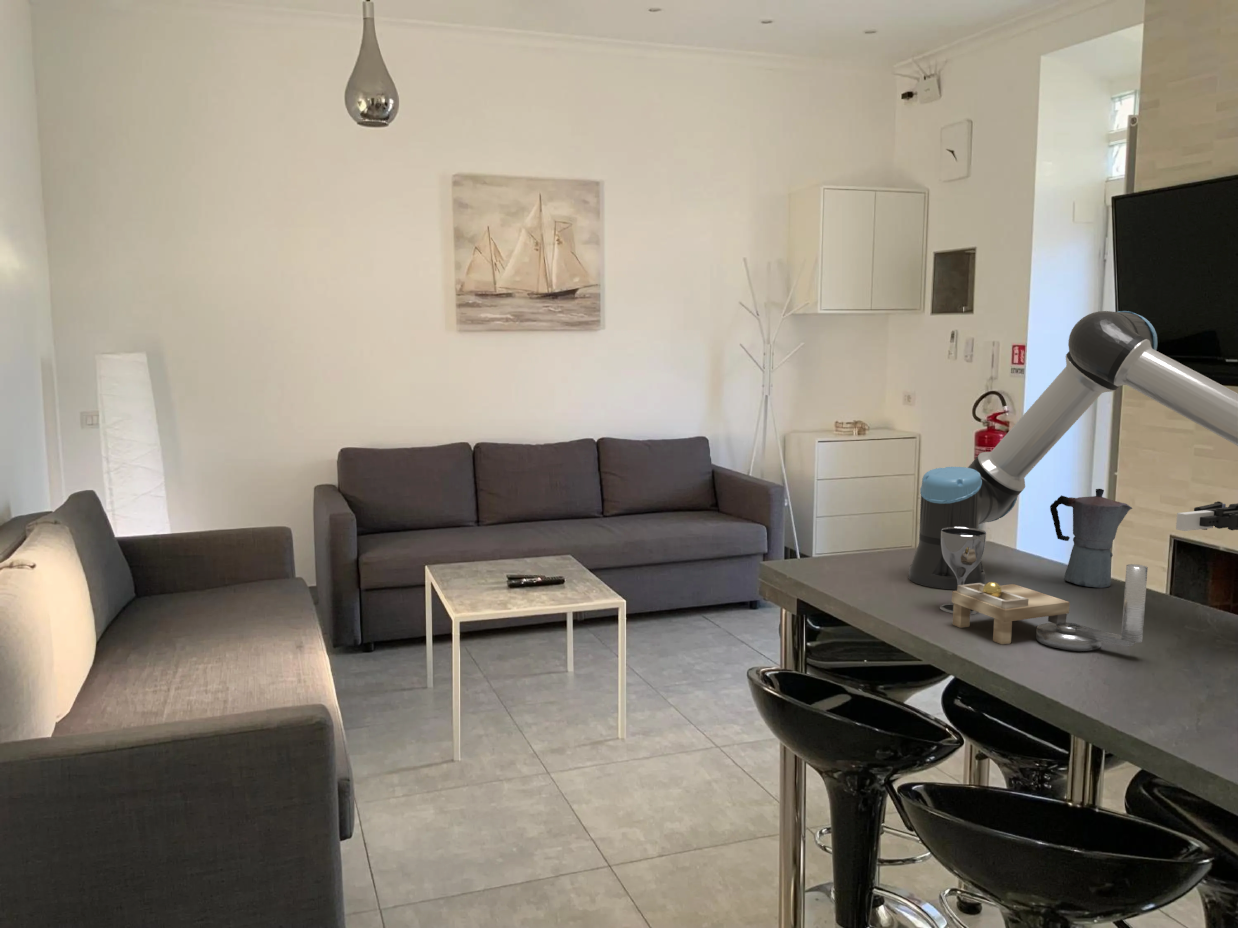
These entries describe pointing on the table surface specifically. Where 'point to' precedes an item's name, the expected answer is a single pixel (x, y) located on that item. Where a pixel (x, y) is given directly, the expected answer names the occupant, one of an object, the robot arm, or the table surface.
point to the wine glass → (962, 553)
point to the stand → (1006, 607)
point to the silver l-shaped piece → (1090, 639)
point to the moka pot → (1090, 537)
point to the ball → (992, 589)
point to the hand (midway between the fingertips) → (1180, 521)
